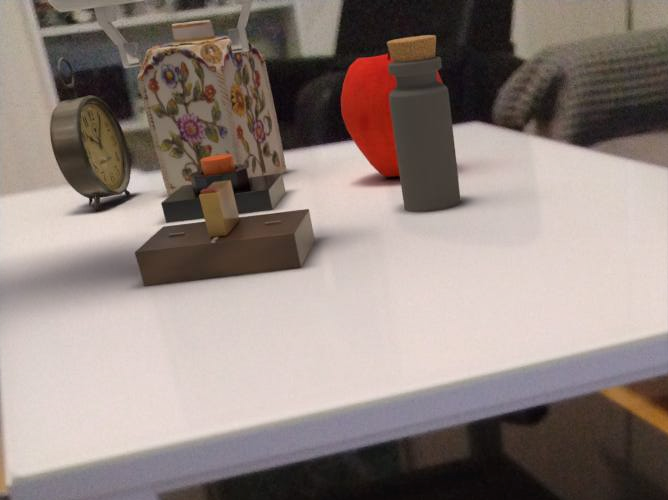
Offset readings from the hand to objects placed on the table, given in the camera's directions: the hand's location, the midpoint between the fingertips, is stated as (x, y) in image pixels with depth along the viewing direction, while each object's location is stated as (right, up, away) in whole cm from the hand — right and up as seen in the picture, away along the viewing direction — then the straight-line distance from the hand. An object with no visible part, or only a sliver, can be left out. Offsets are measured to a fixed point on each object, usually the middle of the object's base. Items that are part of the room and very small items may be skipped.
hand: (187, 59), depth 89 cm
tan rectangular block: (+3, -14, +2) cm, 14 cm away
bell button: (-4, +2, +25) cm, 26 cm away
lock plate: (+3, -17, +4) cm, 17 cm away
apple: (+17, +4, +31) cm, 36 cm away
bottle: (+21, -7, +15) cm, 27 cm away
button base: (-3, -1, +27) cm, 28 cm away
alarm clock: (-21, +3, +38) cm, 44 cm away
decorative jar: (-6, +7, +41) cm, 42 cm away
